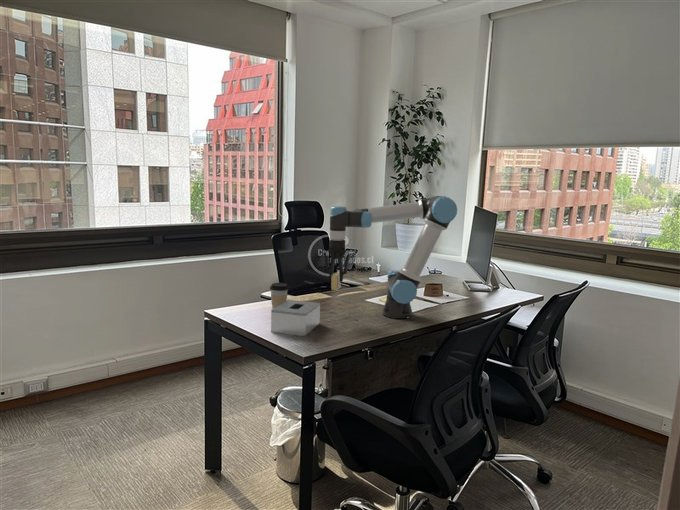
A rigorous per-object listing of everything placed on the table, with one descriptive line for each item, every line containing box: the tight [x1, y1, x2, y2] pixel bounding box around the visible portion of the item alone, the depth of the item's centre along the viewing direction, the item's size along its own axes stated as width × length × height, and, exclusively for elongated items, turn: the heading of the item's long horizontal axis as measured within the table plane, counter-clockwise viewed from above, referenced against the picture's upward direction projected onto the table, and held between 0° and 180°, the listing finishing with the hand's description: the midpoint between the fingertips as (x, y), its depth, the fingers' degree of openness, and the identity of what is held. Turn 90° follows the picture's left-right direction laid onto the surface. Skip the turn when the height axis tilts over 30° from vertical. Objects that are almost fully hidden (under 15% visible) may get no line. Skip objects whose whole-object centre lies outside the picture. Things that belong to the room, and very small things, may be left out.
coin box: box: [270, 299, 321, 337], centre depth 224 cm, size 16×20×10 cm
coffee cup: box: [269, 282, 290, 310], centre depth 245 cm, size 9×9×15 cm
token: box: [331, 272, 340, 291], centre depth 236 cm, size 2×6×7 cm, turn 164°
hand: (335, 287), depth 236 cm, fingers closed on token, 2 cm apart
